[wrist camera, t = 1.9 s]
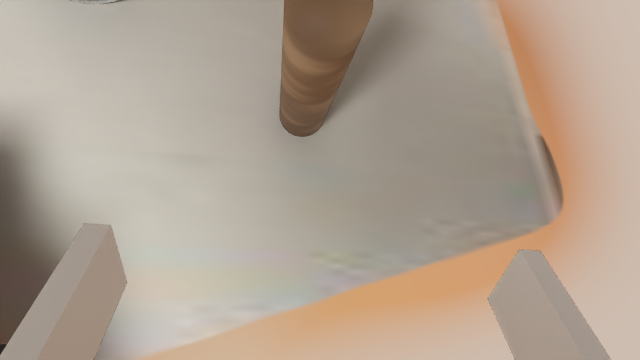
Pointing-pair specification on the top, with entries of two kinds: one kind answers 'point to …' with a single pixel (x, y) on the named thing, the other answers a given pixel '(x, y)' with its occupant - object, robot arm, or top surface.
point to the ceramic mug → (94, 1)
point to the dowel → (317, 57)
